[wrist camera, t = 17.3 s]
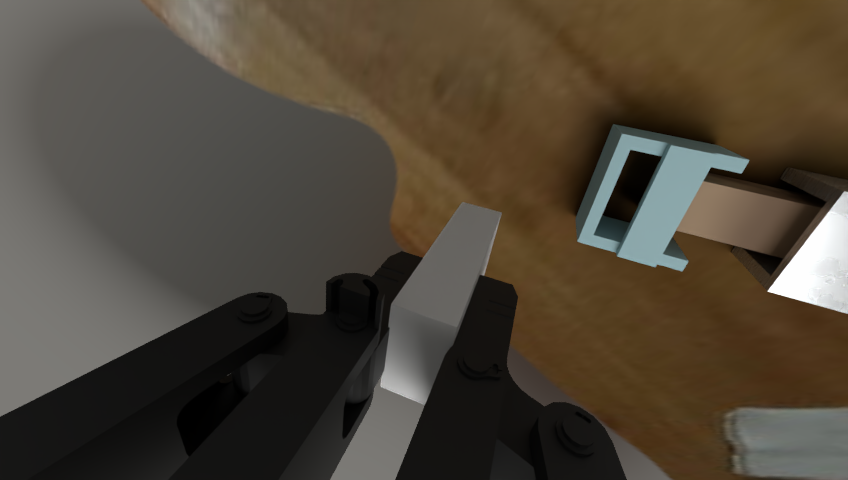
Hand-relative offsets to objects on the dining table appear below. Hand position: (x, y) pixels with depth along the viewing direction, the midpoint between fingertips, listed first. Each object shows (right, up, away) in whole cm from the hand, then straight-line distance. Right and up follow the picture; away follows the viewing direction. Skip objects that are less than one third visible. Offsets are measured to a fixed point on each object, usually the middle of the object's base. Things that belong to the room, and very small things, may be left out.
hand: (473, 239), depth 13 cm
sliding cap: (+15, +4, +13) cm, 20 cm away
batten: (+21, +3, +12) cm, 24 cm away
